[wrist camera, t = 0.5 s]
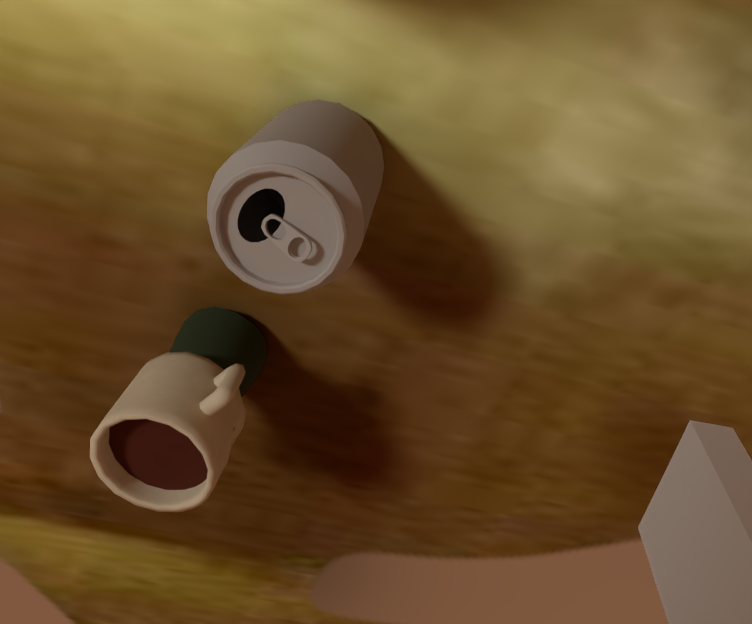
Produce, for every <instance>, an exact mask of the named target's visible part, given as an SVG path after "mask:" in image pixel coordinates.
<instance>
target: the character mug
mask: <svg viewBox="0 0 752 624" xmlns="http://www.w3.org/2000/svg"><path fill="white" fill-rule="evenodd" d="M267 355H268V353H267V347H266V342H265V337H264V336H263V335H262V334H261V332H260V331H259V330H258V329H257V328H256V327H255V325H254V324H253V323H251V322H250V321H248V320H247V319H245V318H244V317H242V316H241V315H239V314H237V313H236V312H233V311H229V310H225V309H221V308H217V307H213V308H207V309H202V310H197V311H196V312H195V313H194V314H193V315H191V316H190V317H189V318H188V319H187V320H186V321H185V322H184V324H183V325H182V327H181V329H180V331H179V333H178V335H177V336H176V339H175V341H174V343H173V346H172V348H171V350H170V352H169V353H165V354H162V355H160V356H158V357H156V358H154V359H152V360H150V361H148V362H147V363H146V364H145V365H144V367H143V368H142V369H141V370H140V372H139V373H138V374H137V376H136V377H135V378H134V380H133V381H132V382H131V384H130V385H129V386H128V387H127V389H126V390H125V391H124V393H123V394H122V395H121V397H120V398H119V399H118V400H117V402H116V403H115V404H114V406H113V407H112V408H111V410H110V411H109V412H108V414H107V415H106V416H105V418H104V419H103V420H102V422H101V423H100V425H99V426H98V428H97V429H96V431H95V432H94V434H93V435H92V437H91V438H90V459H91V461H92V463H93V466H94V468H95V470H96V472H97V475H98V477H99V478H100V479H101V480H102V481H103V482H104V483H105V484H106V485H107V486H108V487H109V488H110V489H111V490H112V491H113V492H114V493H115V494H116V495H118V496H120V497H122V498H124V499H125V500H127V501H129V502H131V503H133V504H134V505H137V506H140V507H144V508H147V509H151V510H155V511H158V512H181V511H185V510H189V509H193V508H195V507H197V506H199V505H201V504H202V503H203V502H204V501H205V500H206V499H207V498H208V497H209V495H210V494H211V492H212V490H213V489H214V487H215V485H216V483H217V481H218V479H219V477H220V474H221V472H222V470H223V469H224V467H225V465H226V464H227V461H228V457H229V453H230V448H231V447H232V445H233V443H234V442H235V440H236V438H237V437H238V435H239V434H240V432H241V431H242V428H243V425H244V420H245V415H246V410H245V407H244V404H243V402H242V398H241V397H242V396H243V395H244V394H245V392H246V391H247V390H248V389H249V387H250V386H251V385H252V384H253V382H254V381H255V379H256V378H257V376H258V375H259V373H260V372H261V370H262V369H263V366H264V363H265V360H266V358H267Z"/></svg>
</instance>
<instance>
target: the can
mask: <svg viewBox="0 0 752 624" xmlns="http://www.w3.org/2000/svg"><path fill="white" fill-rule="evenodd" d="M383 173H384V161H383V154H382V147H381V145H380V143H379V141H378V139H377V137H376V135H375V133H374V131H373V129H372V128H371V127H370V126H369V125H368V124H367V123H366V122H365V121H364V119H363V118H362V117H361V116H360V115H359V114H358V113H356V112H354V111H352V110H350V109H349V108H347V107H345V106H343V105H341V104H340V103H335V102H329V101H324V100H313V101H306V102H299V103H297V104H295V105H293V106H291V107H289V108H288V109H286V110H284V111H282V112H281V113H280V114H278V115H277V116H276V117H275V118H274V119H273V120H271V121H270V122H269V123H268V124H267V125H266V126H265V127H263V128H262V129H261V130H260V131H259V132H258V133H257V134H255V135H254V136H253V137H252V138H251V139H250V140H249V141H247V142H246V143H245V144H244V145H243V146H242V147H240V148H239V149H238V150H237V151H236V152H235V153H234V154H232V155H231V157H230V158H229V159H228V160H227V161H226V162H225V163H224V164H223V165H222V167H221V168H220V169H219V170H218V171H217V172H216V174H215V177H214V179H213V182H212V185H211V187H210V190H209V192H208V201H207V220H208V223H209V226H210V232H211V236H212V239H213V242H214V246H215V249H216V251H217V252H218V254H219V255H220V257H221V259H222V260H223V262H224V263H225V265H226V266H227V267H228V268H229V269H230V270H231V271H232V272H233V273H234V274H235V275H237V276H238V277H239V278H240V279H241V280H242V281H244V282H246V283H248V284H250V285H252V286H254V287H256V288H258V289H260V290H262V291H267V292H272V293H277V294H293V293H303V292H305V291H313V290H315V289H318V288H320V287H322V286H325V285H327V284H330V283H332V282H334V281H335V280H336V279H337V278H338V277H340V276H341V275H342V274H343V273H344V272H345V271H346V270H347V269H349V268H350V266H351V265H352V263H353V261H354V259H355V257H356V256H357V254H358V252H359V250H360V248H361V246H362V243H363V240H364V237H365V234H366V231H367V228H368V225H369V222H370V219H371V216H372V213H373V210H374V207H375V204H376V200H377V197H378V194H379V191H380V188H381V185H382V179H383Z"/></svg>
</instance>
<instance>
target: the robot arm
mask: <svg viewBox="0 0 752 624" xmlns="http://www.w3.org/2000/svg"><path fill="white" fill-rule="evenodd" d="M1 411H2V405H1V400H0V412H1ZM638 529H639V532H640V535H641V539H642V542H643V545H644V548H645V551H646V554H647V557H648V560H649V564H650V567H651V569H652V573H653V576H654V579H655V582H656V585H657V589H658V592H659V595H660V598H661V601H662V604H663V607H664V610H665V614H666V617H667V620H668V623H669V624H752V460H751V458H750V457H749V455H748V453H747V452H746V450H745V448H744V446H743V445H742V443H741V441H740V440H739V438H738V436H737V435H736V433H735V431H734V429H733V428H730V427H725V426H719V425H713V424H708V423H702V422H697V421H691V420H690V421H689V423H688V426H687V428H686V430H685V432H684V434H683V436H682V438H681V440H680V442H679V444H678V446H677V448H676V450H675V452H674V454H673V456H672V458H671V461H670V463H669V465H668V467H667V469H666V471H665V473H664V475H663V477H662V479H661V481H660V483H659V485H658V487H657V489H656V491H655V493H654V496H653V498H652V500H651V502H650V504H649V506H648V508H647V510H646V512H645V514H644V516H643V518H642V520H641V522H640V524H639V526H638Z"/></svg>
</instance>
